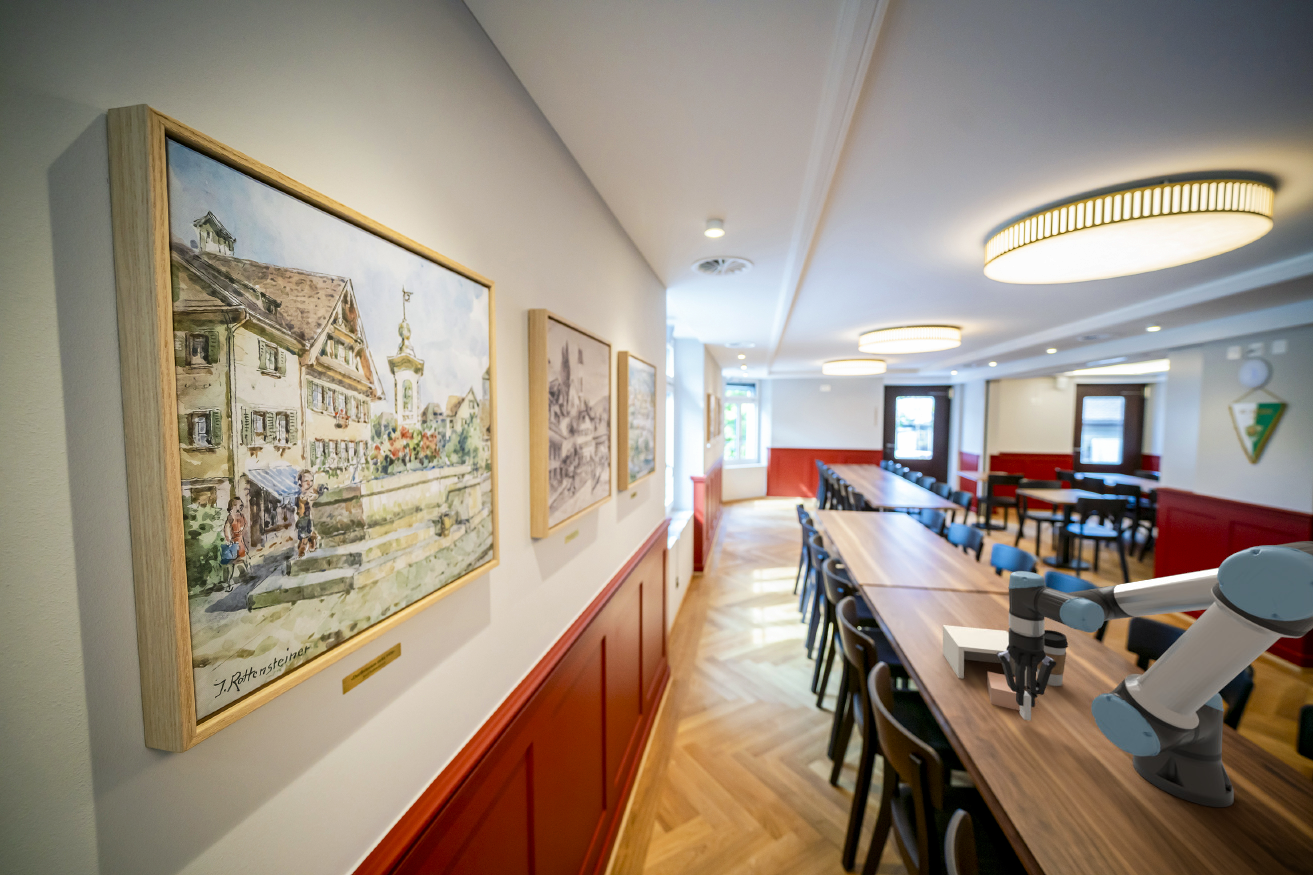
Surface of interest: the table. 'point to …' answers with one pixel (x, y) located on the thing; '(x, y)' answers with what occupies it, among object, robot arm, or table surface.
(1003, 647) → the shelf
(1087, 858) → the table surface
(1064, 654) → the coffee cup
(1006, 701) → the pink clay brick
